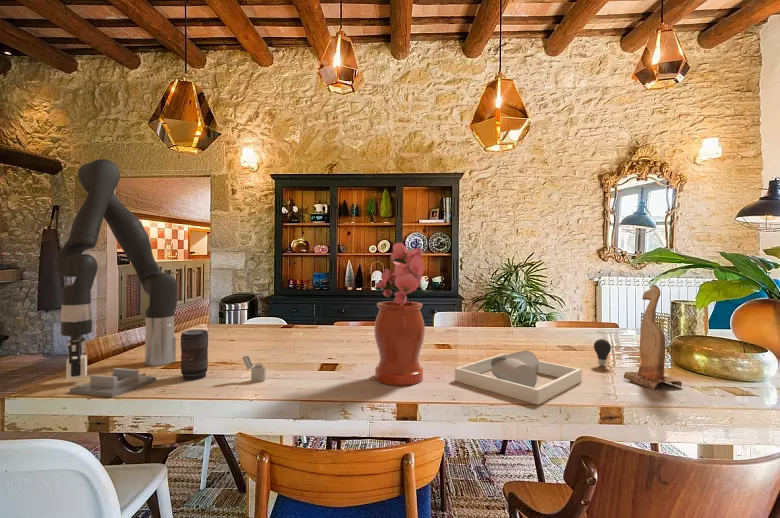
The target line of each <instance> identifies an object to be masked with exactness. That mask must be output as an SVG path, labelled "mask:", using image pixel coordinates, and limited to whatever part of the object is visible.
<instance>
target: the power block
mask: <svg viewBox="0 0 780 518" xmlns="http://www.w3.org/2000/svg"><path fill="white" fill-rule="evenodd" d="M139 373H140V371H139V369H133V368H124V367H123V368H122V367H116V368H115V367H114V368H112V375H111V374H110V375H105V374H104V375H103V374H90V376H89V377H90V379H89V381H90V382H86V383H83V384H80V385H77V386H74V387H70V388H69V394H79V395H87V396H96V397H106V398H114V397H117V396H120V395H123V394H125V393H128V392H131V391H133V390H136V389H138V388H141V387H144V386H146V385H149V384H152V383H154V382H156V381H157V376H150V375H149V376H147V375H146V373H141V374H139Z"/></svg>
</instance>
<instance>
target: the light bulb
mask: <svg viewBox="0 0 780 518" xmlns="http://www.w3.org/2000/svg"><path fill="white" fill-rule="evenodd" d="M593 349H594V351H595V353H596V355H597V360H598V365H600V367H604V366H606V365H607V358H608V356H609V354H610V353H611V350H612V346H611V343H610V342H609V341H608V340H606V339H603V338H600V339H597V340H596V341H594V344H593Z"/></svg>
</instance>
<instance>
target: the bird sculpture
mask: <svg viewBox="0 0 780 518" xmlns="http://www.w3.org/2000/svg"><path fill="white" fill-rule="evenodd" d="M660 297H661V289H660V287H659V286H658V285H656V284H652V285H651V287H650V289H648V290H646V291H645V292H643V294H642V299H641V300H645V301H647V300H648V301H649V303H648V305H647V306H646V309H645V312H644V315H643V319H642V323H641V327H640V337H639V338H640V340H639V341H640V342H639V358H640V360H641V363H640V366H639V368H638V370H637V371H626V372H624V374H623V379H625V380H627V381H630V382H632V383H635V384H638V385H640V386H642V387H646V388H648V389H650V390H655V388H656V387H657V385H658V384H662V383H668V384H671V385H674V386H677V387H680V388H681V387H682V385H683V382H682V381H680V380H678V379H675V378H671V377H668V376H665V360H666V336H665V334H664V332H663V329H662V328H661V327H660V326H659V325H658V324H657V323H656V313H657V312H656V311H657V307H658V302H659V299H660Z"/></svg>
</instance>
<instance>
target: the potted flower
mask: <svg viewBox="0 0 780 518" xmlns="http://www.w3.org/2000/svg"><path fill="white" fill-rule="evenodd" d="M422 250H423V248H422V247H417V248H412V249H410V250H408V249H407V247H406V246H405V245H404V244H403V243H402V242H396V243H394V244H393V245H392V253H391V255H390V260H391V261H392V263H393V264H394V272H392V270H391V269H390V268H385V269H384V272H383V273H381V275H380V277H381V280H380V281H377V282H376V283H374V284H375V287H374V290H375V291H380V292H382V294H383V296H385V298H390V297H392V295H394V300H393V301H392V300H389V301H381V302H377V303H376V306H377V308H379V310H378V314H377V315H376V318H375V321H374V327H373V328H374V330H373V332H374V340H375V345H376V347H377V350H378V354H379V355H378V356H379V362H378V365H377V366H375V369H374V376H375V377H374V379H375V380H376V381H377V382H378V383H381V384H384V385H388V386H397V387H400V386H401V387H402V386H411V385H416V384H420V383H421V382H423V380H424V368H423V367H422V366H421V364H420V360H419V358H420V353H421V350H422V347H423V344H424V340H425V333H426V327H425V320H424V317H423V315H422V312H421V309H422V307H423V305H424V304H423V303H421V302H417V301H411V297H414V296H417V295H421V294H425V293H430V292H432V291H434V290H428V291H423V290H419V289H418V288H419V287H421V285H422V284H421V280H422V278H424V276H423V274H424V270H425V264H424V262H423V261H422V258H423V256H422ZM387 282H389V284H390V285H387ZM392 283H394V286H391V285H392ZM392 290H394V291H395V292H394V294H393V291H392ZM412 292H417V293H416V294H413V295H411V293H412ZM407 298H409V301H407V300H408V299H407Z"/></svg>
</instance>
